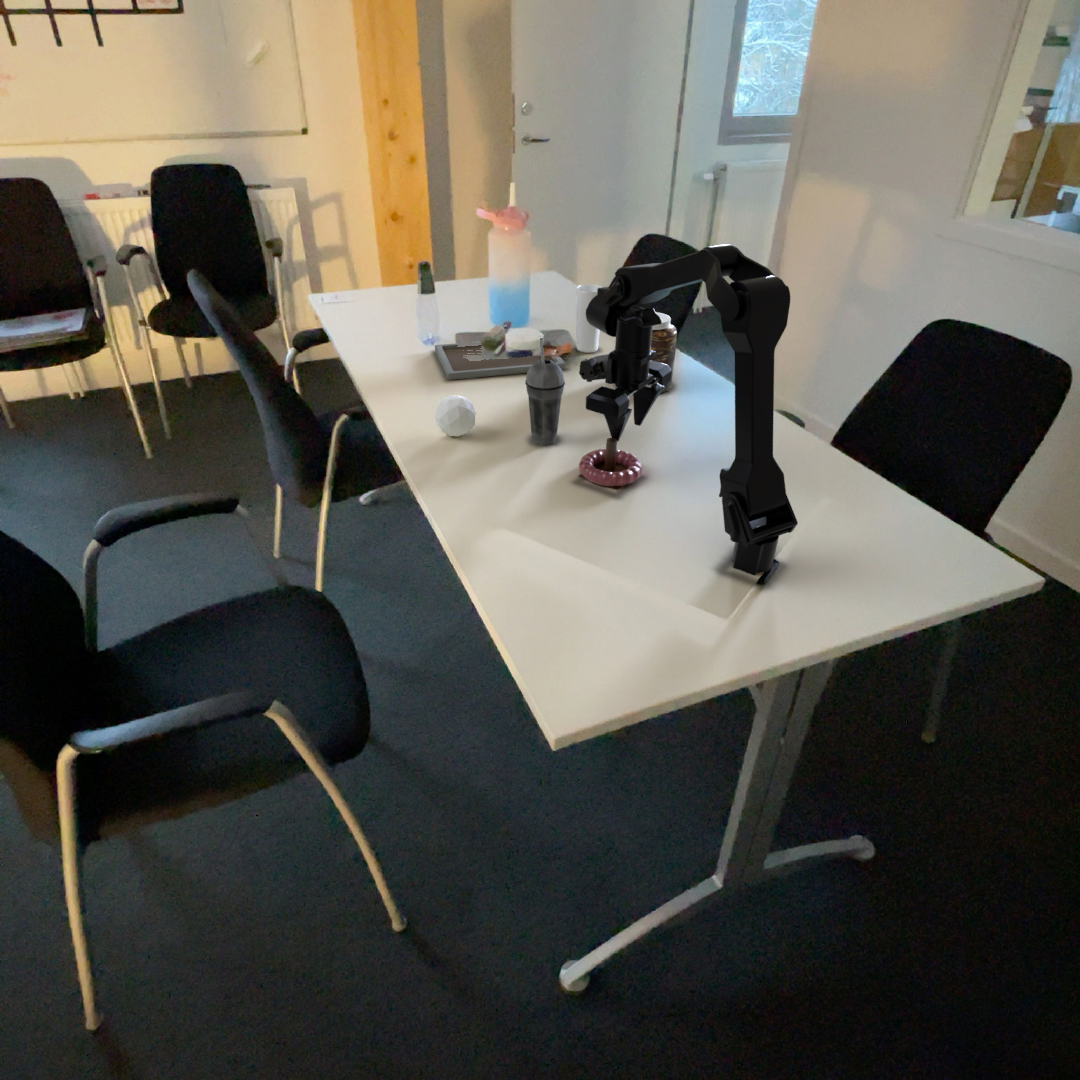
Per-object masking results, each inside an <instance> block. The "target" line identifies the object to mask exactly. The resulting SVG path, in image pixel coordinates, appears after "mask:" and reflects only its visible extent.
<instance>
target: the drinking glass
mask: <svg viewBox="0 0 1080 1080" xmlns="http://www.w3.org/2000/svg"><path fill="white" fill-rule="evenodd" d="M602 287H603V286H602V285H600V284H593V283H585V284H579V285H577V286H576V287H575V302H574V303H575V304H574V305H575V308H574V309H575V331H576V345H575V346H576V350H577V351H578V352H579V353H586V354H591V353H595V352H597V351H598V349H599V342H600V341H599V340H600V333H601V331H600V330H599V329H597V328H595V327H593V326H592V325H590V324H589V323H588V321H587V318H586V309H587V307H588V305H589V303H590V301H591V300H592V299H593V298H594V297H595V296H596V295H597V290H598V288H602Z"/></svg>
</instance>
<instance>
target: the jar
mask: <svg viewBox="0 0 1080 1080" xmlns="http://www.w3.org/2000/svg"><path fill="white" fill-rule="evenodd" d="M655 313H656V314H657V315H658V316H659V317H660V319H661V321H662V323H661V324H659V325H655V326H653V329H652V340H651V350H652V351H655V357H654V358H653V359H651V361H655V362H659V363H663V364H667V365H668V366H669V367H670V369H671V370H672V373H671V381H670V382H668V383H667V384H665V385H664V389H663V390H662V391H661V393H660V394H662V393H665V392H668V391H669V390H671V388H672V384H673V376H674V369H675V368H674V367H675V360H676V351H677V340H678V329H677V328H676V326H675V325H673V324H671V323H672V322H671V321H672V318H671V317H670V315H668V314H665V313H662V312H659V311H655ZM656 380H658V381H657V384H660V383H659V378H656Z"/></svg>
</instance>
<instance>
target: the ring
mask: <svg viewBox="0 0 1080 1080" xmlns="http://www.w3.org/2000/svg"><path fill="white" fill-rule="evenodd" d="M605 454H606V448H599V449H596V450H592V451H589V452H587V453H586V454H585V455H583V456H582V457H581V459H580V461H579V463H578V469H579V472H580V474H582V476H583V477H585V478H586V479H587V480H586V479H585V480H586V481H589V482H590V483H593V484H596V485H598V486H604V487H606V486H622V487H624V486H627V485H630V484H633V483H634V482H635V481H637V480H638V479H639V478H640V477H641V476H642V473H643V464H642V462H641V460H640V459H639V458H638V457H637V456H635V455H634V454H632V453H630V452H628V451H625V450H622V449H617V450H616V463H615V464H619V465H622V466H625V467H627V468H628V469H626V470H624V471H620V472H607V471H602V470H599V469H596V468H595V467H594V465H596V464H600V463H605ZM623 485H624V486H623Z"/></svg>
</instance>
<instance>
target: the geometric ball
mask: <svg viewBox="0 0 1080 1080" xmlns="http://www.w3.org/2000/svg"><path fill="white" fill-rule="evenodd" d="M476 416H477V412H476V409H475V407H474V404H473V403H472V402H471V401H470V400H469V399H468V398H467V397H466V396H464V395H458V394H450V395H448V396H446V397H444V398H441V400H440V402H439V403H438V404H437V405H436V408H435V414H434V420H435V422H436V425H437V427H438V428H439V429H440V430H441V432H443V433H444V434H445V435H446V436H451V437H456V438H460V437H462V436H463V435H466V434H468V433H470V432H471V430H472V429H473V428H474V427H475V425H476Z"/></svg>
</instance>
